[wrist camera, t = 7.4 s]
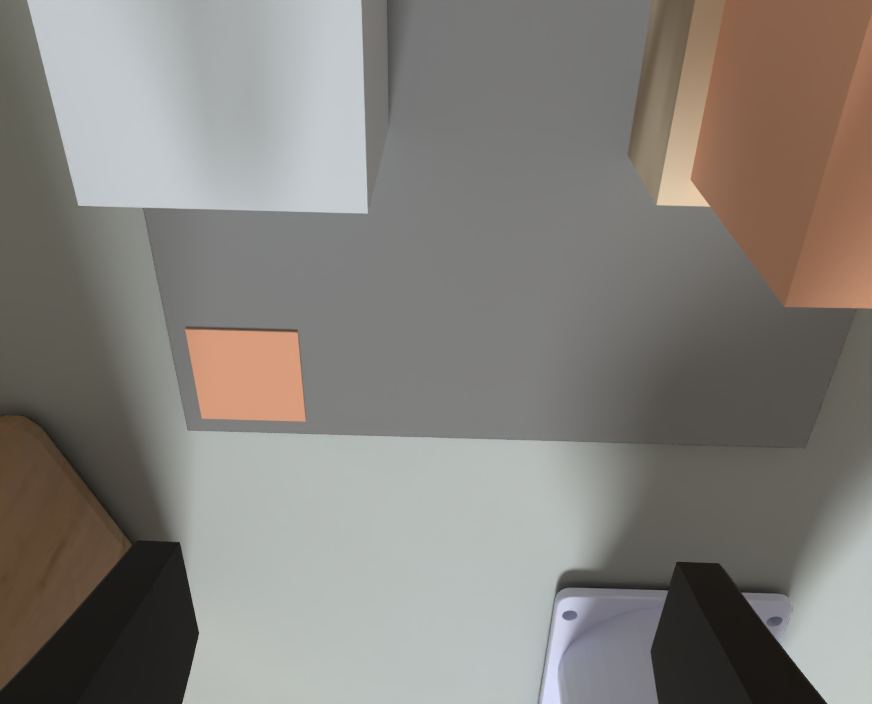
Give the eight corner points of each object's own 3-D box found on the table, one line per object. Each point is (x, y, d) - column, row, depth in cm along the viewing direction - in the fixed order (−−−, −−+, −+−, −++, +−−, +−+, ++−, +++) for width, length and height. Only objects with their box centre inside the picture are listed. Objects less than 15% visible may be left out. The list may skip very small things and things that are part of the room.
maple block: (888, 162, 17) (961, 213, 15) (627, 155, 18) (656, 205, 15) (998, -150, 14) (1115, -153, 12) (677, -158, 14) (725, -162, 12)
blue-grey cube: (388, 127, 17) (368, 213, 13) (169, 122, 17) (77, 206, 13) (385, -133, 15) (357, -131, 10) (125, -139, 15) (-9, -140, 10)
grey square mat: (800, 439, 22) (806, 449, 22) (191, 421, 23) (186, 431, 22) (1047, -248, 14) (1064, -252, 13) (56, -271, 14) (44, -275, 13)
